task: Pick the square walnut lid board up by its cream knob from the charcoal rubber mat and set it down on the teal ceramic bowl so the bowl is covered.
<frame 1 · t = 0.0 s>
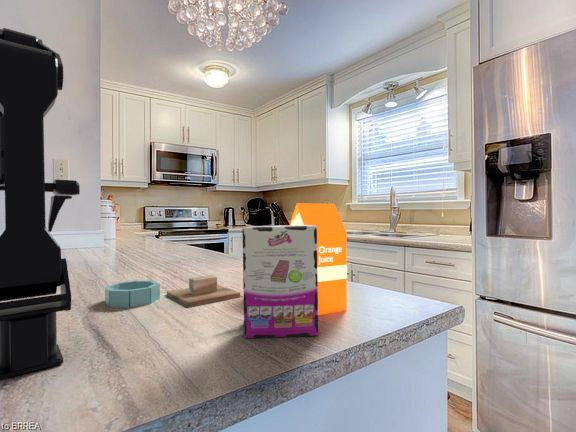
hand: (19, 232, 62), 15 cm above the counter, fingers open, 9 cm apart
mat: (203, 300, 68), on the counter
candy bar box: (280, 333, 51), on the counter
lid: (203, 295, 68), point 1 cm above the counter, touching mat
orange juice: (316, 309, 63), on the counter
bowl: (133, 305, 65), on the counter
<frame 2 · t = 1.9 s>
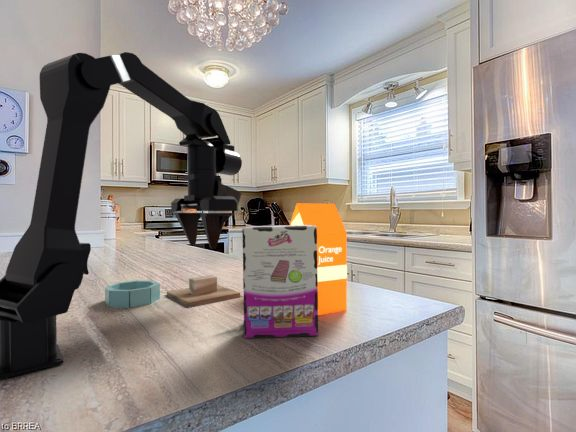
hand: (202, 246, 68), 11 cm above the counter, fingers open, 9 cm apart
nothing on the counter moved.
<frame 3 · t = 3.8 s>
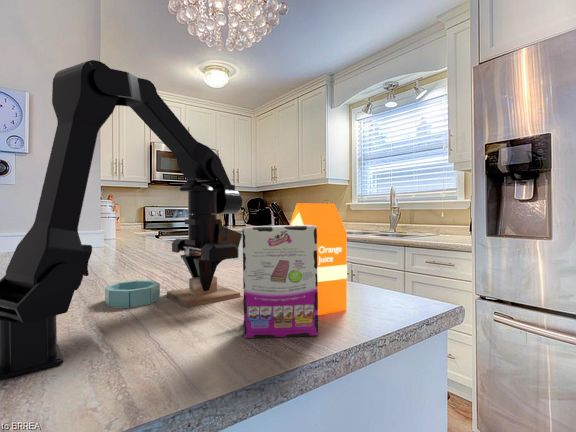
hand: (203, 289, 68), 2 cm above the counter, fingers closed on lid, 2 cm apart
lid: (203, 295, 68), point 1 cm above the counter, touching gripper, mat
everything else where it was.
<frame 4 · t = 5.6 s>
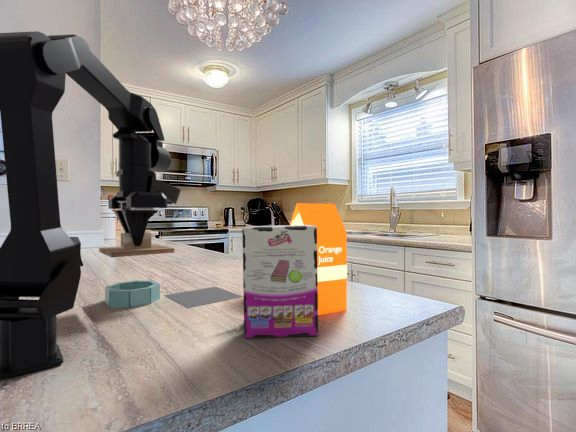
hand: (135, 245, 65), 12 cm above the counter, fingers closed on lid, 2 cm apart
lid: (136, 252, 65), point 11 cm above the counter, touching gripper
everything else where it was.
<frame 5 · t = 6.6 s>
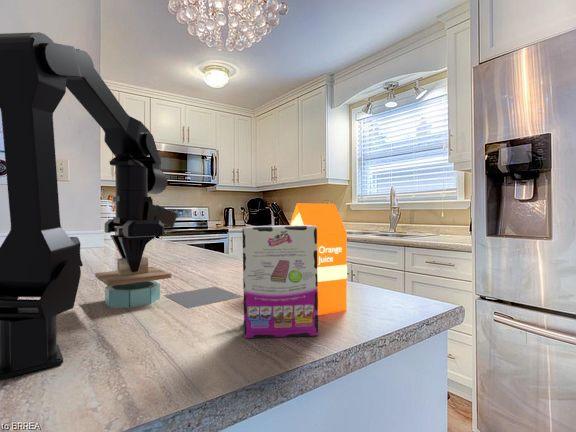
hand: (132, 270, 65), 7 cm above the counter, fingers closed on lid, 2 cm apart
lid: (133, 277, 65), point 6 cm above the counter, touching gripper
everything else where it was.
when the fingers open (7 cm above the counter, at t = 7.2 s): lid drops 1 cm, resting on bowl.
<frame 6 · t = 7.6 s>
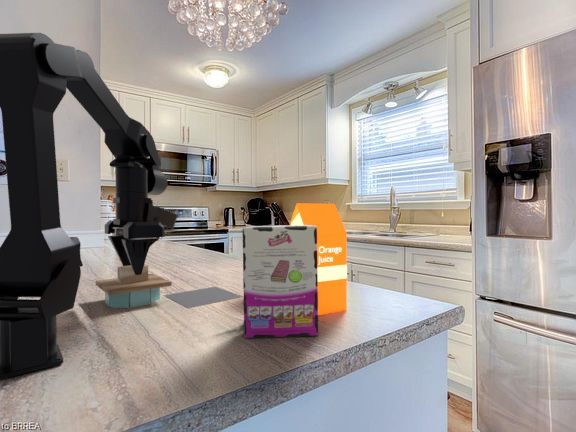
hand: (132, 272, 65), 7 cm above the counter, fingers open, 7 cm apart
lid: (133, 285, 65), point 4 cm above the counter, touching bowl
everything else where it was.
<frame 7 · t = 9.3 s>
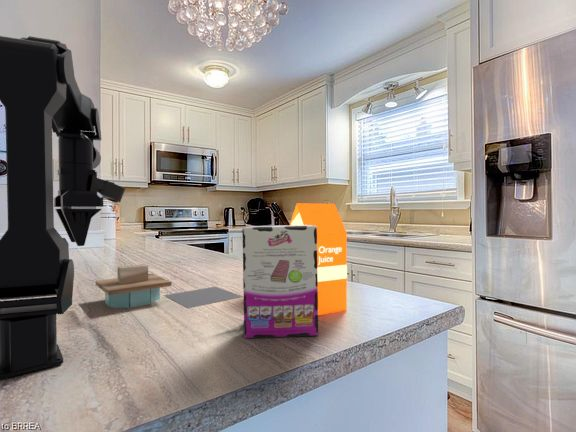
hand: (77, 243, 65), 12 cm above the counter, fingers open, 9 cm apart
nothing on the counter moved.
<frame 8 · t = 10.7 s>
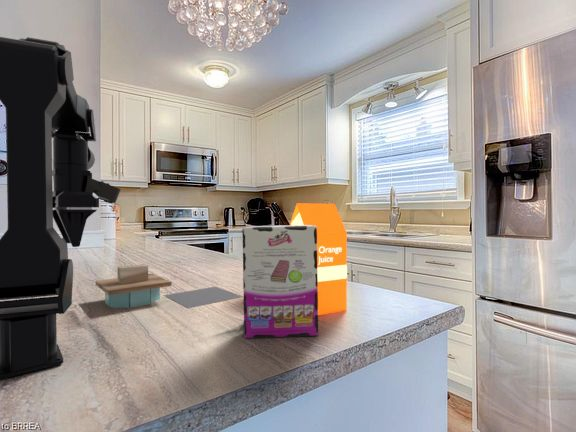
hand: (72, 244, 65), 12 cm above the counter, fingers open, 9 cm apart
nothing on the counter moved.
at the end: lid 0.1 cm off-centre on the bowl, point 4.0 cm above the bowl's base; lid tilted 0°; the gripper is holding nothing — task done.
